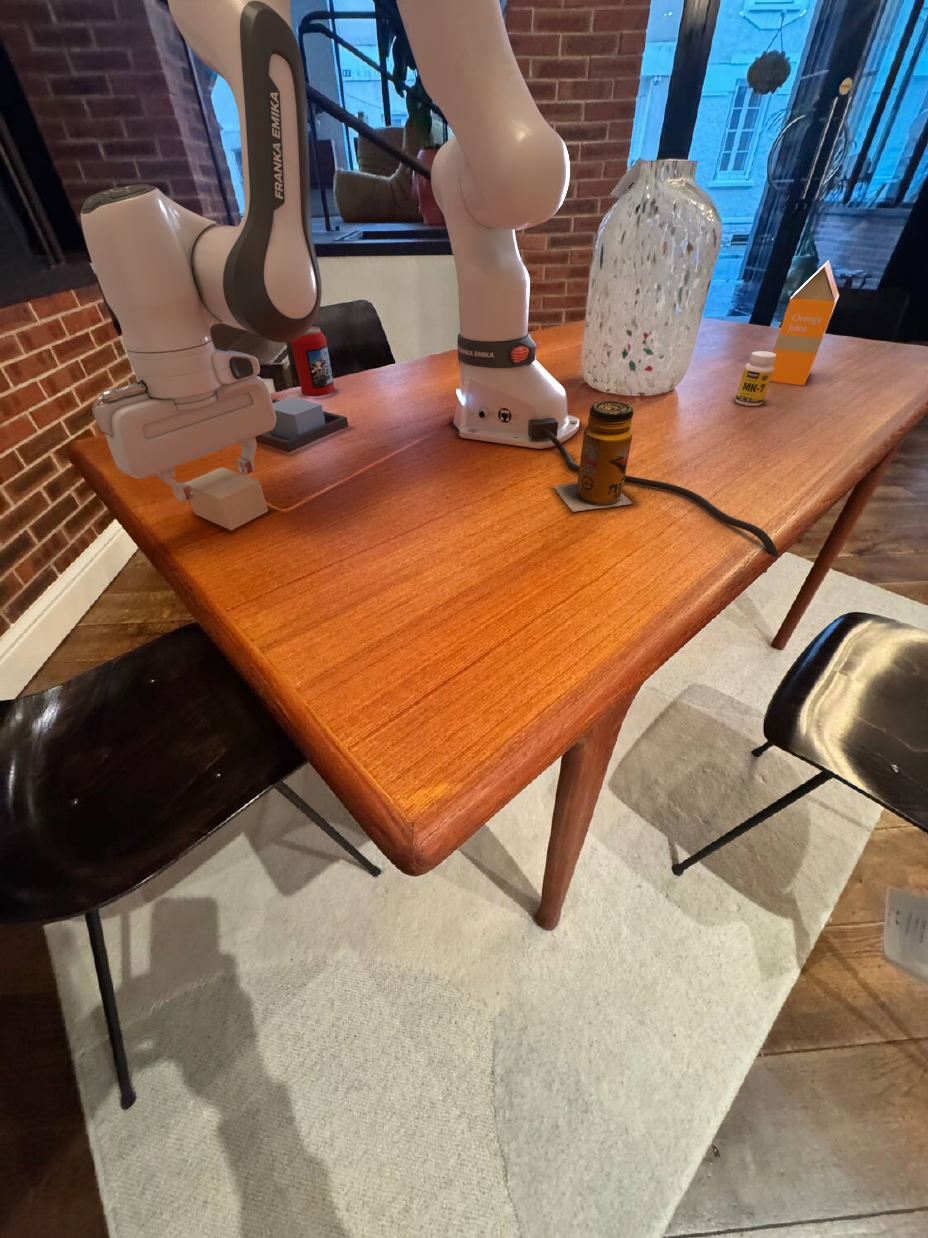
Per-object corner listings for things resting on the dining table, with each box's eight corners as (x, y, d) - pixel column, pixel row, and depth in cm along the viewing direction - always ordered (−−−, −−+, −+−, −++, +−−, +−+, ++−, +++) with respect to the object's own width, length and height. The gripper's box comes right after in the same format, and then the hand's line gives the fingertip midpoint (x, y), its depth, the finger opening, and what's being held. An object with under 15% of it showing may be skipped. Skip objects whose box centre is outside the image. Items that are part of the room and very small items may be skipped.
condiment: (632, 504, 70) (651, 413, 62) (572, 512, 68) (584, 420, 60) (609, 480, 75) (623, 394, 67) (553, 488, 74) (561, 400, 66)
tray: (349, 428, 93) (347, 416, 92) (289, 455, 85) (286, 442, 84) (277, 409, 102) (274, 398, 101) (217, 432, 94) (213, 420, 93)
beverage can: (327, 399, 106) (315, 333, 98) (297, 398, 107) (282, 333, 99) (340, 389, 111) (329, 325, 103) (310, 387, 112) (297, 325, 104)
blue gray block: (326, 430, 91) (321, 404, 88) (300, 442, 88) (294, 414, 85) (296, 422, 95) (290, 396, 92) (269, 432, 91) (262, 406, 88)
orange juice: (809, 374, 110) (853, 259, 97) (804, 385, 105) (850, 266, 92) (769, 369, 114) (806, 258, 101) (762, 380, 108) (800, 264, 95)
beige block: (268, 511, 71) (259, 480, 68) (231, 530, 67) (219, 499, 64) (232, 496, 74) (221, 466, 72) (194, 514, 71) (182, 483, 68)
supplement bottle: (734, 404, 97) (749, 356, 92) (734, 397, 101) (749, 349, 95) (762, 407, 96) (779, 357, 90) (762, 399, 99) (778, 351, 94)
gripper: (100, 401, 51) (156, 525, 60) (268, 355, 64) (294, 463, 73) (70, 390, 54) (127, 510, 63) (236, 348, 67) (265, 453, 76)
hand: (218, 484), depth 68 cm, fingers open, 8 cm apart
